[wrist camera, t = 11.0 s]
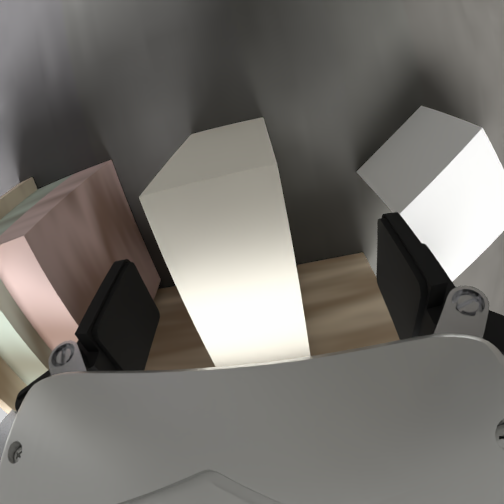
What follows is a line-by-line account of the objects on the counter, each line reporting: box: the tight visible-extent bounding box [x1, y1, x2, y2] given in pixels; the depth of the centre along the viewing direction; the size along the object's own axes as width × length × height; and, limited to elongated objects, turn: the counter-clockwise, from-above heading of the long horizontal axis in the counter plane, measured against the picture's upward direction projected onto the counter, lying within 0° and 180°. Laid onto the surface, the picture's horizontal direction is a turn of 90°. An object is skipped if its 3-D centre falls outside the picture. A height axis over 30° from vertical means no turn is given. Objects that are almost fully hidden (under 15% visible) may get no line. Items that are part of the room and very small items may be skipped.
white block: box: [139, 117, 310, 367], centre depth 14 cm, size 9×4×9 cm, turn 13°
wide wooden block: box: [0, 160, 400, 414], centre depth 14 cm, size 12×22×12 cm, turn 102°
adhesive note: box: [357, 106, 504, 281], centre depth 15 cm, size 6×6×6 cm
